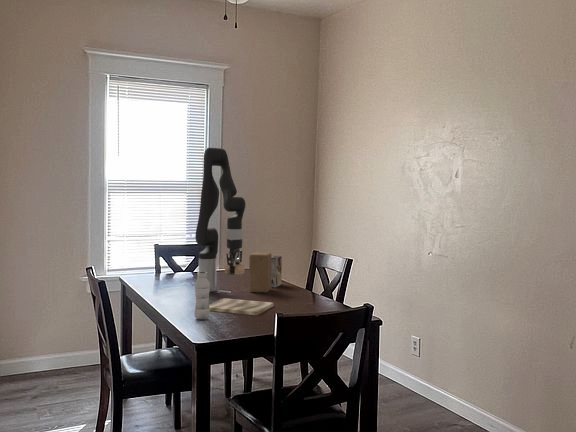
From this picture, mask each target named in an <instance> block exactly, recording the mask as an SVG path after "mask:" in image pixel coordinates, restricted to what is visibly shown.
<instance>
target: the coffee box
mask: <svg viewBox="0 0 576 432" xmlns="http://www.w3.org/2000/svg"><path fill="white" fill-rule="evenodd" d="M282 261H283V260H282V256H280V255H272V257H271V288H277V287H280V286H281V285H282Z"/></svg>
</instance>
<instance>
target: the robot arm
mask: <svg viewBox="0 0 576 432" xmlns="http://www.w3.org/2000/svg"><path fill="white" fill-rule="evenodd" d="M202 161H203V162H202V163H203V167H202V169H203V170H202V171H203V173H202V184H201V185H202V186H201V193H200V204H199V205H200V206H199V212H198V213H199V214H198V220H197V224H196V230H195V242H196V244H197V245H198V246H200V247H203V246H205V248H204V249H203V250H201V251H200V252H199V253H198V272H207V277H206V278H207V280H208V281H209V282H210V292H209V293H212V292H216V291H217V255H218V252H219V232H218V230H217V229H216V228H215V227H209V222H210V220H211V217H212V216H213V215H214V213H215V211H216V210H217V208H218V206H219V200H220V191H221V193H222V197H223V199H222V200H223V209H224V210H225V211H226V212H228V213H229V212H231V213H232V212H234V213H235V214H234V215H232V216H228V217H227V223H226V225H227V227H226V229H227V230H226V248H227V249H229V252H227V253H226V265H229V266H230V274H234V265H235V264H239V265H241V263H242V260H243V250H242V248H243V229H242V228H243V217H244V213H245V210H246V200H245V198H243V197H242V196H236V195H237V193H238V191H237V188H236V184H235V182H234V179H233V177H232V172H231V167H230V166H231V165H230V162H229V157H228V153H227V151H226V150H225V149H224V148H222V147H206V148H205V149H204V152H203V160H202ZM213 167H220V169H221V171H222V172H221V174H220V177H219V182H218V184H219V186H218V184H217V182H216V181H215V178H214V175H213ZM219 187H220V189H219ZM198 272H197V273H196V281H197V280H198V278H199V277H198Z"/></svg>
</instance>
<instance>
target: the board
mask: <svg viewBox="0 0 576 432" xmlns="http://www.w3.org/2000/svg"><path fill="white" fill-rule="evenodd" d="M273 307H274V302H271V301H270V302H269V301H258V300H257V301H256V300H249V299H248V300H247V299H238V298H237V299H236V298H225V297H223V298H220V299H219V300H216V301H214V302H212V303H209V309H210V312H219V313H229V314H240V315H250V316H259V315H260V314H262V313H264V312H266V311H267V310H269V309H271V308H273Z"/></svg>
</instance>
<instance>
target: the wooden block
mask: <svg viewBox="0 0 576 432" xmlns="http://www.w3.org/2000/svg"><path fill="white" fill-rule="evenodd" d="M272 256H273V254H272V253H271V252H266V251H265V252H262V251H260V252H259V251H255V252H253V253H250V254H249V258H248V259H249V262H248V263H249V264H248V265H249V266H248V268H249V270H248V271H249V275H248V276H249V277H248V278H249V279H248V290H249V292H250V293H264V294H266V293H268V292H269V291H271V289H272V287H271V257H272Z"/></svg>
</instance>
